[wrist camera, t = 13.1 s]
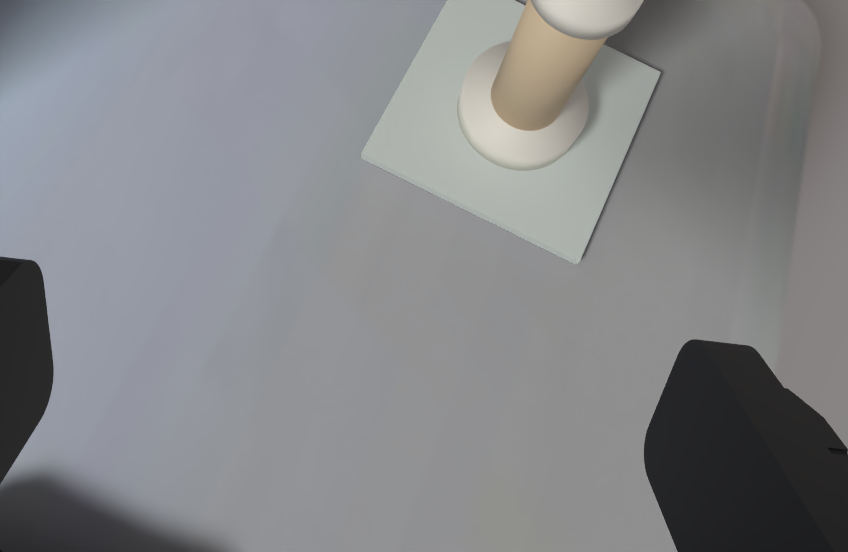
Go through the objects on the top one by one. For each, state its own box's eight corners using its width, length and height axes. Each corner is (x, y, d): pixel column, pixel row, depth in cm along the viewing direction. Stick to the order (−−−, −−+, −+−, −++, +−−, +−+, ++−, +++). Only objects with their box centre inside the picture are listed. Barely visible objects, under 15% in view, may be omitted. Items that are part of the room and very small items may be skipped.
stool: (437, 136, 37) (480, -1, 26) (486, 38, 38) (545, -126, 28) (551, 191, 37) (641, 76, 26) (595, 90, 38) (696, -54, 28)
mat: (360, 158, 36) (361, 153, 36) (459, -19, 40) (461, -26, 39) (575, 264, 36) (579, 261, 36) (656, 78, 40) (661, 72, 39)
